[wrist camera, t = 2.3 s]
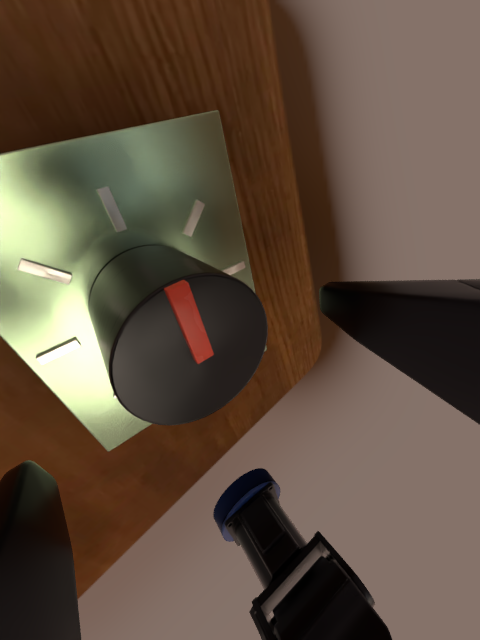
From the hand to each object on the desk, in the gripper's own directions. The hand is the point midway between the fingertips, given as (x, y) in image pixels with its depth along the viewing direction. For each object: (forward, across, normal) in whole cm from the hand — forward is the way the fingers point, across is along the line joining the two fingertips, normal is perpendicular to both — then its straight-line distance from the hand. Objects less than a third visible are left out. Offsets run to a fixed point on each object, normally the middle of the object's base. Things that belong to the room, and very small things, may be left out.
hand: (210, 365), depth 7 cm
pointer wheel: (+5, 0, 0) cm, 5 cm away
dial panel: (+8, 0, 0) cm, 8 cm away
